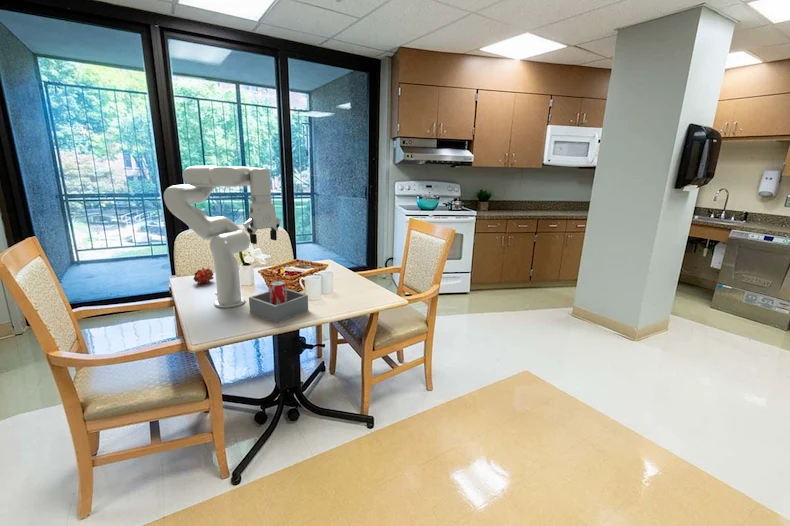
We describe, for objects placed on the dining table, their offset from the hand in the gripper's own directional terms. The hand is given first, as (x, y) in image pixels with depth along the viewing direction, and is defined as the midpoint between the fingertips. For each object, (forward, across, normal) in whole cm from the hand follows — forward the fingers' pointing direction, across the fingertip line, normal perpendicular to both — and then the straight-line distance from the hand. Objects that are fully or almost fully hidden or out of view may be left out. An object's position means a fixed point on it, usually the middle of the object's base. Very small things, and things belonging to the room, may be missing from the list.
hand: (263, 241), depth 150 cm
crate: (+30, +2, -5) cm, 31 cm away
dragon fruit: (+31, +3, +55) cm, 63 cm away
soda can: (+30, +2, -5) cm, 30 cm away
